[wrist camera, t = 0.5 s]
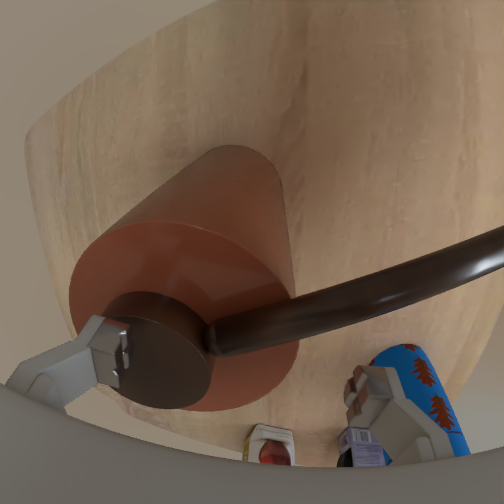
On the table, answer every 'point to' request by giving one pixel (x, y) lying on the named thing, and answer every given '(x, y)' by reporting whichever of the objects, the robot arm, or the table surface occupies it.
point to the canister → (203, 261)
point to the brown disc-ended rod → (277, 319)
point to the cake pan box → (359, 449)
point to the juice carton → (269, 446)
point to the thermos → (423, 391)
